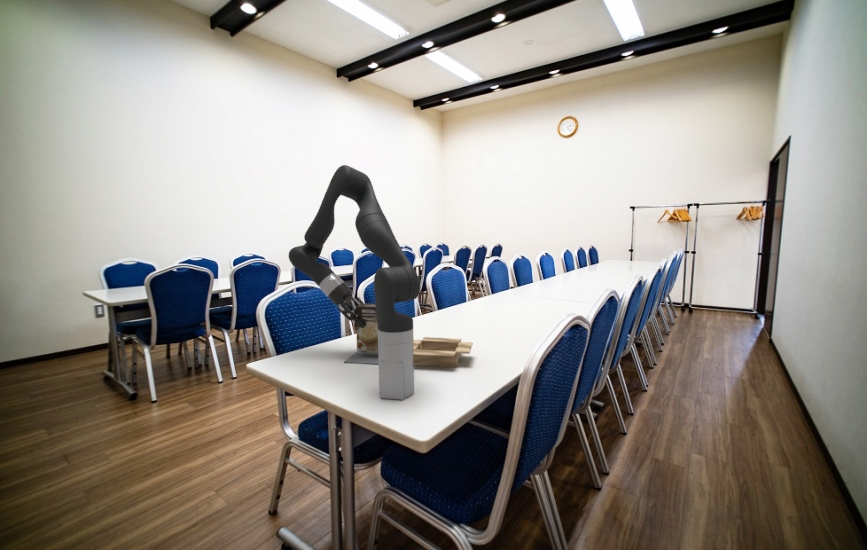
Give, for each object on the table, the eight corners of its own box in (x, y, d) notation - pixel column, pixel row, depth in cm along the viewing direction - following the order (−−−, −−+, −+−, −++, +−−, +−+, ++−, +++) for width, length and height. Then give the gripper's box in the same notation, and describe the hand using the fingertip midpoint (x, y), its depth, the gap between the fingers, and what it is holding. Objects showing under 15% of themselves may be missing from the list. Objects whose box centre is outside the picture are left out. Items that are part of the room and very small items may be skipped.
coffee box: (355, 353, 125) (354, 306, 123) (361, 347, 131) (360, 303, 129) (382, 354, 124) (381, 306, 122) (386, 348, 130) (386, 303, 128)
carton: (468, 372, 111) (468, 356, 111) (397, 368, 116) (397, 352, 115) (473, 353, 130) (473, 339, 130) (412, 350, 134) (412, 336, 134)
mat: (384, 365, 119) (384, 364, 119) (344, 362, 121) (344, 361, 121) (398, 351, 133) (398, 350, 133) (361, 349, 136) (361, 348, 136)
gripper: (333, 284, 120) (368, 321, 119) (351, 279, 134) (382, 312, 133) (318, 300, 121) (353, 336, 120) (338, 293, 135) (369, 326, 134)
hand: (368, 324), depth 126 cm, fingers closed on coffee box, 6 cm apart
